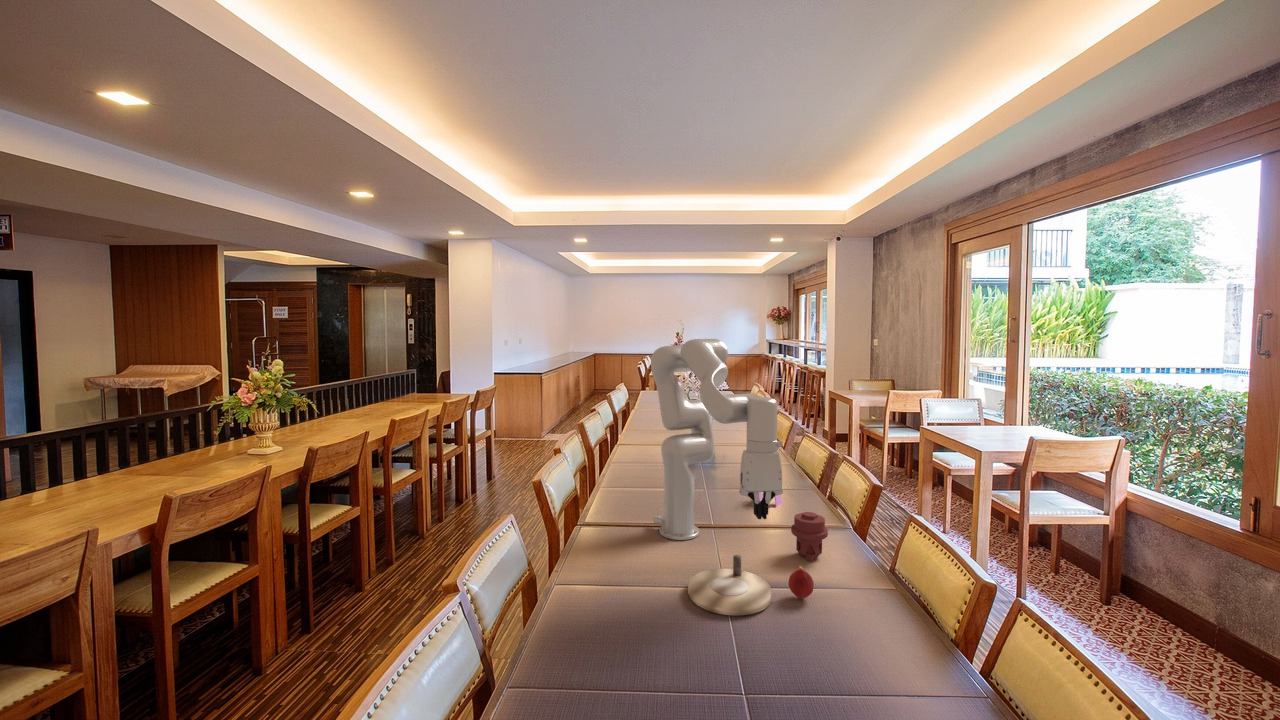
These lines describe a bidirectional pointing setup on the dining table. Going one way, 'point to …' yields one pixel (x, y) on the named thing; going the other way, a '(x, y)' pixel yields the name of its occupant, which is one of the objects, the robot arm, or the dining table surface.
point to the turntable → (729, 590)
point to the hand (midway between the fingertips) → (760, 517)
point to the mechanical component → (809, 534)
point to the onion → (801, 583)
